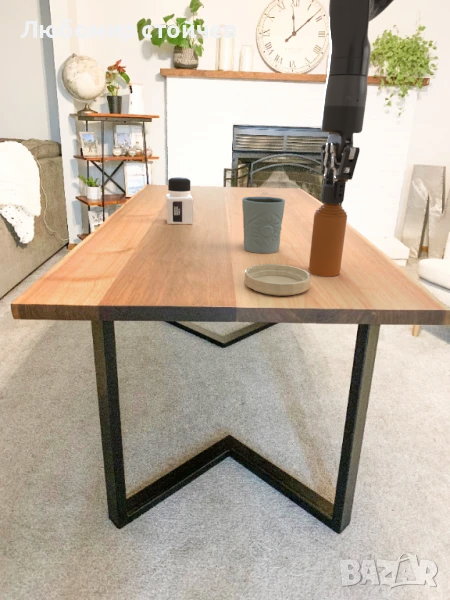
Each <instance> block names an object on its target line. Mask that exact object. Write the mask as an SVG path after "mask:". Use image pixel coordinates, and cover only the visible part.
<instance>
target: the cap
mask: <svg viewBox="0 0 450 600" xmlns="http://www.w3.org/2000/svg"><path fill="white" fill-rule="evenodd" d="M332 189H333V184H325V183H324V184H323V187H322V194H321V202H322V203H329V204H340V205H341V204H343V202H341V203H339V202H332V201H331V197H332Z"/></svg>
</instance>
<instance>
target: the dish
mask: <svg viewBox="0 0 450 600" xmlns="http://www.w3.org/2000/svg"><path fill="white" fill-rule="evenodd" d="M311 278H312V274H311V273H310V272H309V271H308V270H305V269H303V268H300V267H297V266H293V265H288V264H279V263H261V264H256V265H255V264H254V265H252V266H250V267H248V268H246V270H245V271H244V283H245V285H246V287H248V288H250V289H252V290H254V291H255V292H258V293H260V294H265V295H270V296H279V297H281V296H282V297H283V296H284V297H285V296H295V295H298V294H303V293H304V292H307V291H308V290H310V286H311Z"/></svg>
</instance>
